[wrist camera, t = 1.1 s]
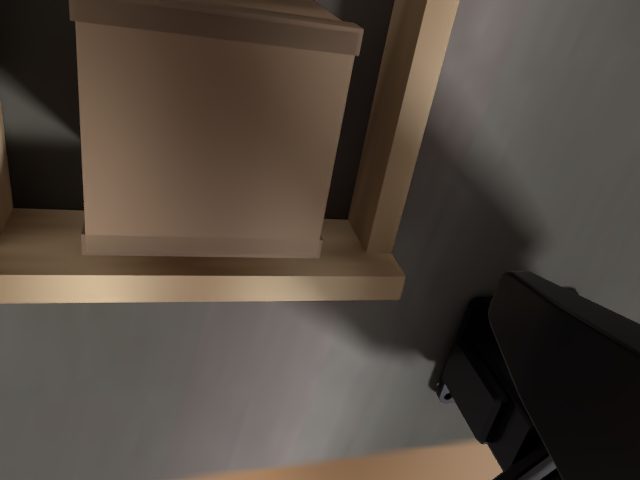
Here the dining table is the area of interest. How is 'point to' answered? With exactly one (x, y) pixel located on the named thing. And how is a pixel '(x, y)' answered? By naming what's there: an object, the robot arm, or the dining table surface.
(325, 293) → the bay
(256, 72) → the crate
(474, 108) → the dining table surface
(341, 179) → the dining table surface
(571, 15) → the dining table surface
